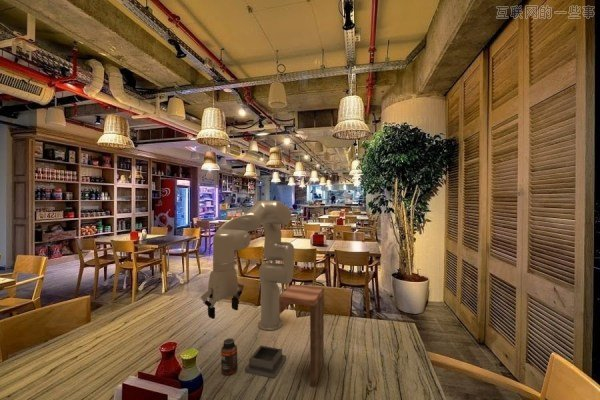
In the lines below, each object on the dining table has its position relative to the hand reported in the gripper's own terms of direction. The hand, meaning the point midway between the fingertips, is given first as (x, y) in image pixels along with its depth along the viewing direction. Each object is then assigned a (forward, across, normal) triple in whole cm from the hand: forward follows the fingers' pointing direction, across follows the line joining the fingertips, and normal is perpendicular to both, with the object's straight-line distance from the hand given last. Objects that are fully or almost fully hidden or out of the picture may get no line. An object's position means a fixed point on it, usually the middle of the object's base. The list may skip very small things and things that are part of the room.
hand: (223, 313), depth 99 cm
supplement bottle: (+23, -4, -2) cm, 24 cm away
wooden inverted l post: (+23, -21, +20) cm, 37 cm away
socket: (+23, -15, +7) cm, 28 cm away
